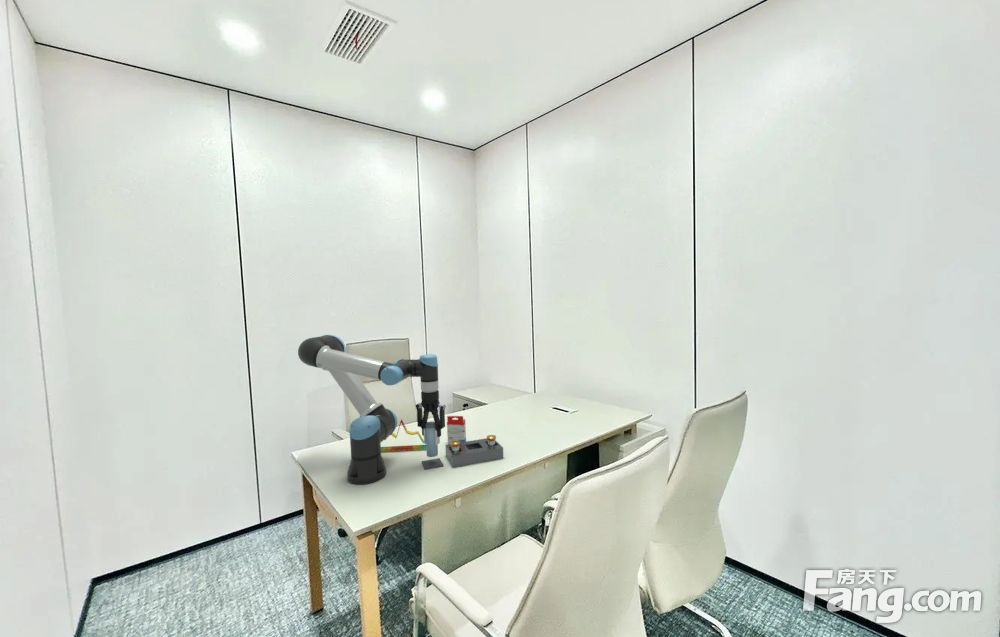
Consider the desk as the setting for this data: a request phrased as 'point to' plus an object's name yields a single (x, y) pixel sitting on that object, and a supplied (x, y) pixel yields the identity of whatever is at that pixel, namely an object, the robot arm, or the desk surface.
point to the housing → (474, 452)
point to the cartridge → (431, 439)
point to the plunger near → (455, 446)
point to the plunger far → (491, 440)
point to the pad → (432, 463)
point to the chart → (404, 448)
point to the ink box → (456, 429)
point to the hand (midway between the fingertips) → (431, 443)
